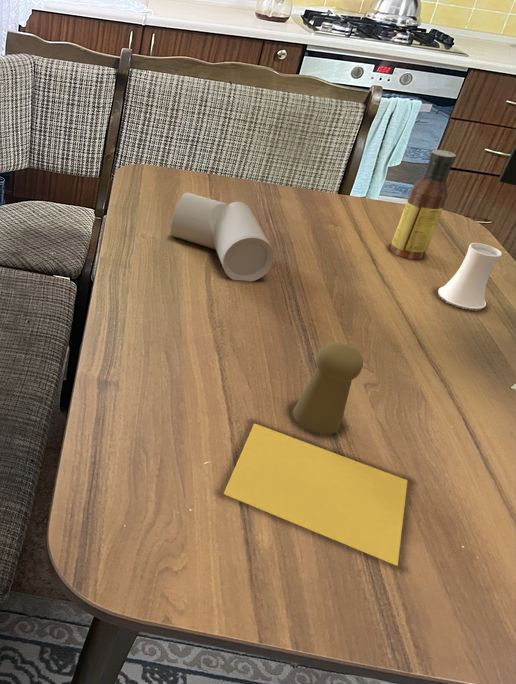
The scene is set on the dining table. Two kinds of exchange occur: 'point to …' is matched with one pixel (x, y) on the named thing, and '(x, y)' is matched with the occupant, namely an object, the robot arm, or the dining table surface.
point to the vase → (471, 278)
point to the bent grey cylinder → (225, 234)
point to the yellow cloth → (321, 492)
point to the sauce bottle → (423, 208)
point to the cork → (328, 389)
